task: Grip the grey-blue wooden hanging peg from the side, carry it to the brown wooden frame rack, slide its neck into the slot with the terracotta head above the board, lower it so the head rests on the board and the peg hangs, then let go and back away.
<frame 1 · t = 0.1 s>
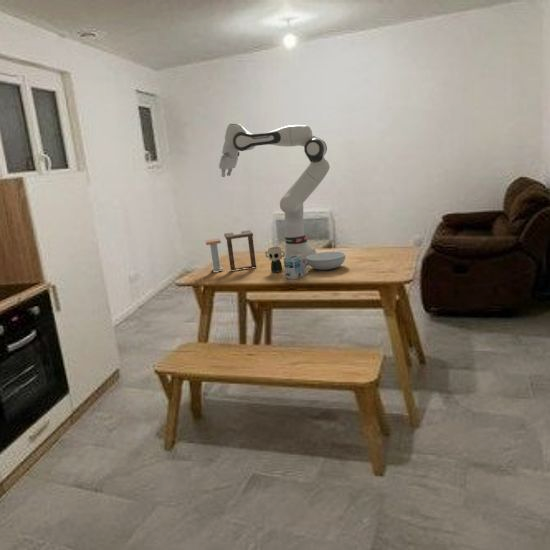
hand: (225, 176, 285), 52 cm above the table, tool tilted 20°, fingers open, 8 cm apart
light bulb box: (296, 276, 251), on the table
character mug: (277, 271, 266), on the table
brown wooden frame rack: (242, 267, 284), on the table
hanging peg: (217, 271, 282), on the table
serving bowl: (326, 268, 261), on the table
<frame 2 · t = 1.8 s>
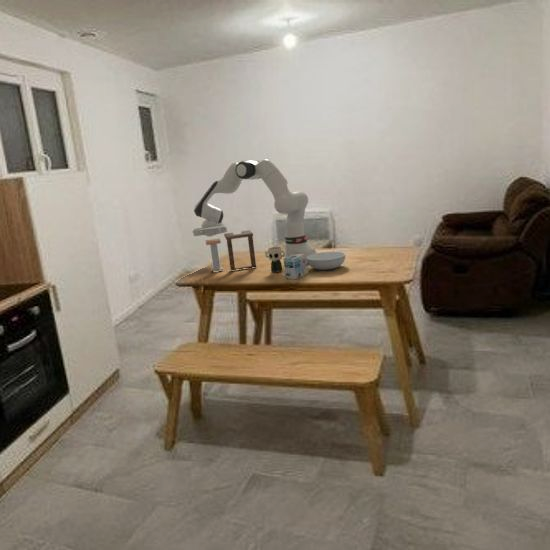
hand: (210, 232, 290), 21 cm above the table, tool horizontal, fingers open, 8 cm apart
nothing on the table moved.
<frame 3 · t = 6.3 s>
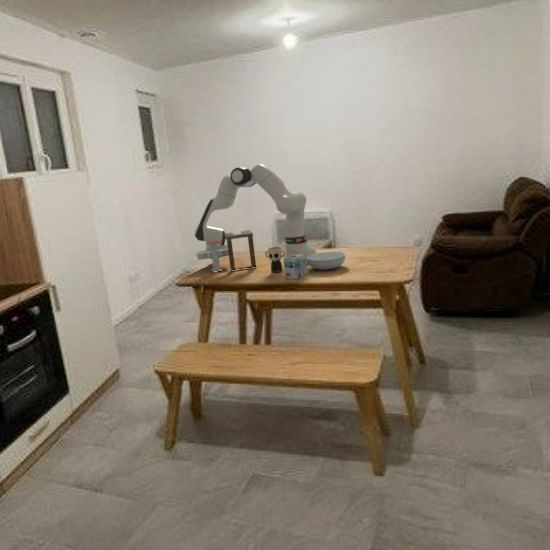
hand: (215, 256, 279), 9 cm above the table, tool horizontal, fingers closed on hanging peg, 4 cm apart
hanging peg: (217, 271, 282), on the table, touching gripper
everything else where it was.
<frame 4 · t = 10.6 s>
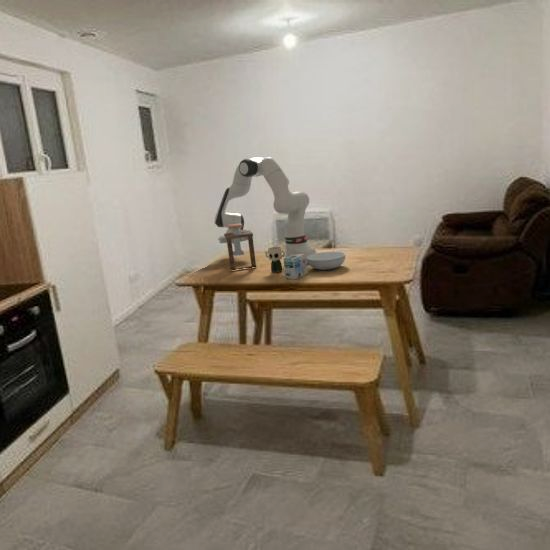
hand: (236, 239, 294), 14 cm above the table, tool horizontal, fingers closed on hanging peg, 4 cm apart
hanging peg: (238, 254, 297), point 5 cm above the table, touching gripper
everything else where it was.
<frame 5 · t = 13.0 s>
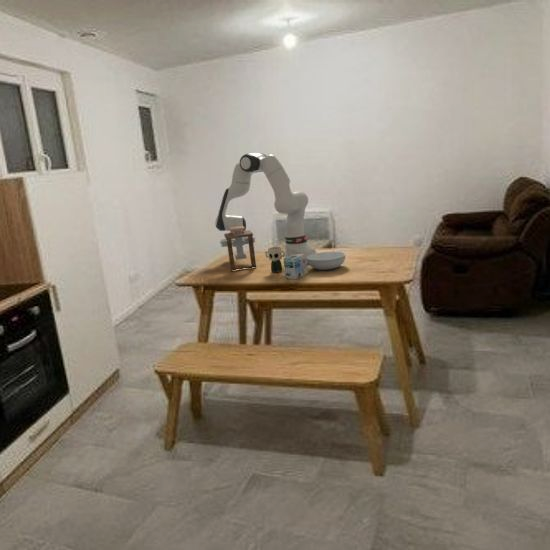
hand: (239, 243, 283), 14 cm above the table, tool horizontal, fingers closed on hanging peg, 4 cm apart
hanging peg: (240, 258, 286), point 5 cm above the table, touching gripper
everything else where it was.
when the fingers open (13 cm above the table, at t = 14.8 s): hanging peg stays where it is, resting on brown wooden frame rack.
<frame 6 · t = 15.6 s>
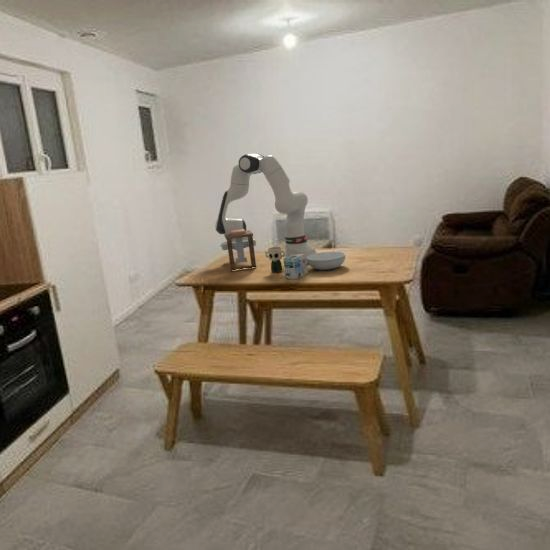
hand: (239, 246, 280), 13 cm above the table, tool horizontal, fingers open, 8 cm apart
hanging peg: (241, 261, 284), point 3 cm above the table, touching brown wooden frame rack
everything else where it was.
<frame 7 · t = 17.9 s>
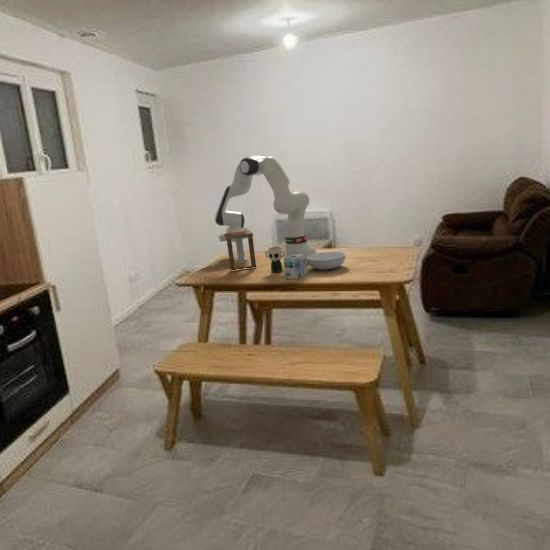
hand: (236, 237, 293), 16 cm above the table, tool horizontal, fingers open, 8 cm apart
nothing on the table moved.
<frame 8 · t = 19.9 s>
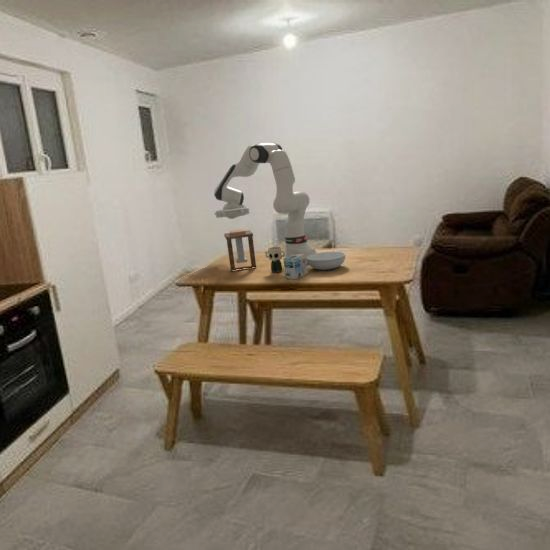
hand: (233, 213, 290), 30 cm above the table, tool horizontal, fingers open, 8 cm apart
nothing on the table moved.
at the end: hanging peg 0.0 cm off-centre on the brown wooden frame rack, point 3.5 cm above the brown wooden frame rack's base; hanging peg touching brown wooden frame rack; hanging peg tilted 0° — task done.
